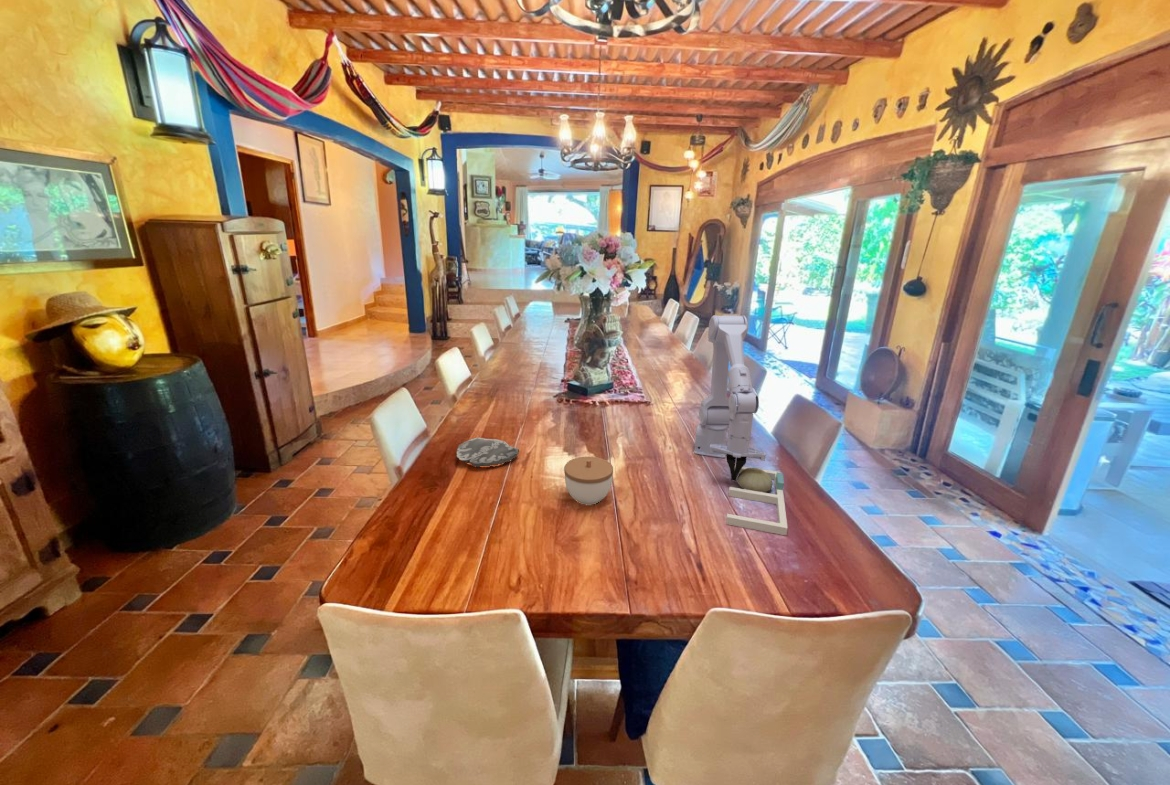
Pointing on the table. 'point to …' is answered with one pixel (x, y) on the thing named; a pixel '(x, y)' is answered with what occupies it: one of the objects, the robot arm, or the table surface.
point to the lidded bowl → (588, 479)
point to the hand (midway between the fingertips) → (733, 478)
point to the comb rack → (762, 497)
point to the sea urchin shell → (754, 480)
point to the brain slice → (486, 452)
